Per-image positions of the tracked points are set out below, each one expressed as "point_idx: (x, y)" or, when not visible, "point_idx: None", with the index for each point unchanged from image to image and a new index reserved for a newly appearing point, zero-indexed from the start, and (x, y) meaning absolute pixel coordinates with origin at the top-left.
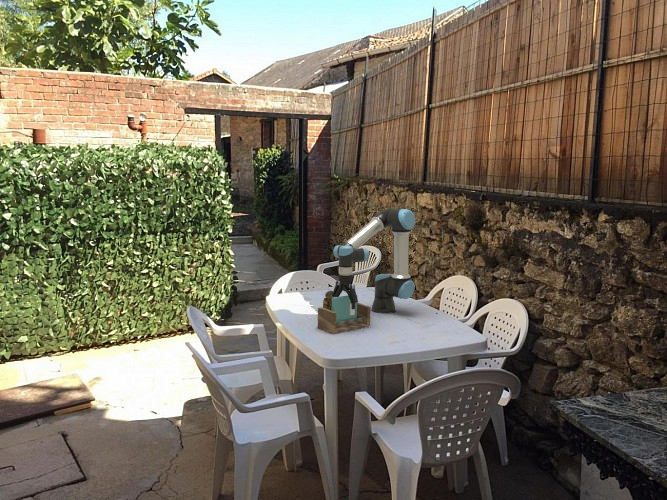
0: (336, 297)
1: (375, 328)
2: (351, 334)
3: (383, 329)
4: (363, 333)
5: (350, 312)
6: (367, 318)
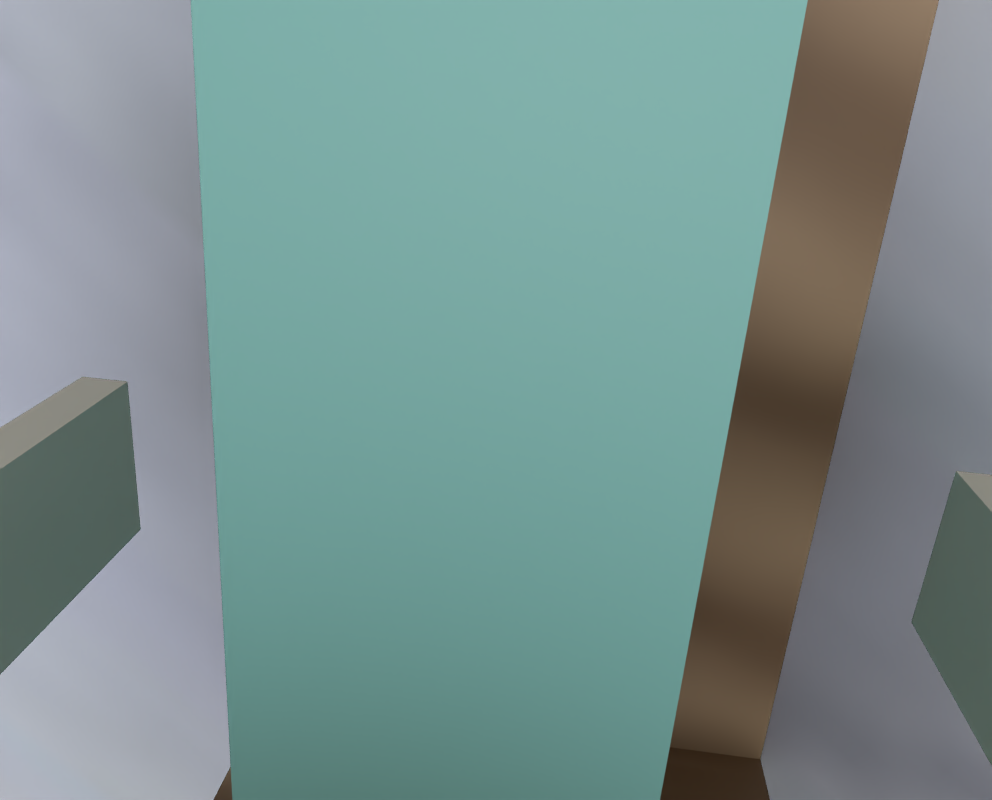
0: (595, 391)
1: (165, 709)
2: (49, 95)
3: (57, 752)
4: (4, 344)
5: (36, 410)
6: (222, 790)
